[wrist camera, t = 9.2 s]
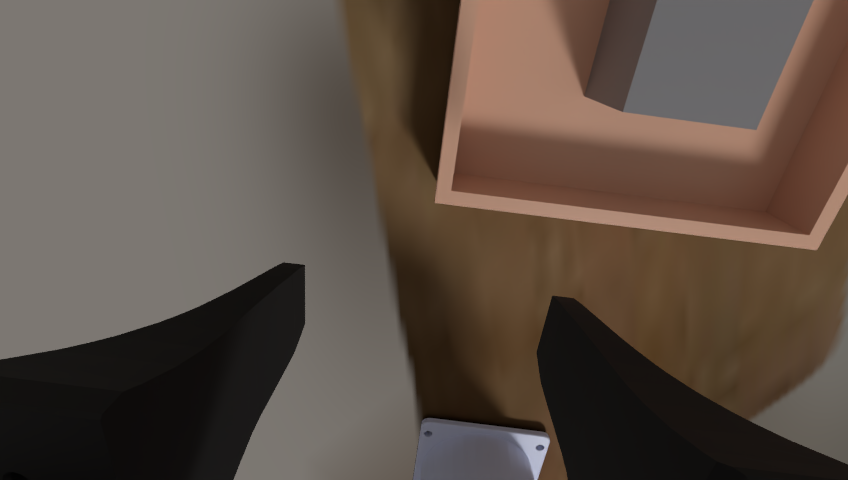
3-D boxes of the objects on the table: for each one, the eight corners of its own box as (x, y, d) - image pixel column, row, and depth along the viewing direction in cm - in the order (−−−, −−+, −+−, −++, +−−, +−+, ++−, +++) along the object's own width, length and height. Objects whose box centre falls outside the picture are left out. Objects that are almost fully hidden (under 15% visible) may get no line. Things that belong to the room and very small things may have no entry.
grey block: (688, 110, 18) (756, 130, 14) (584, 96, 18) (622, 111, 14) (732, -10, 17) (825, -27, 13) (616, -26, 17) (671, -48, 12)
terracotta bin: (768, 222, 21) (816, 250, 18) (436, 181, 21) (434, 202, 18) (950, -152, 15) (1063, -196, 12) (487, -211, 15) (496, -268, 12)
